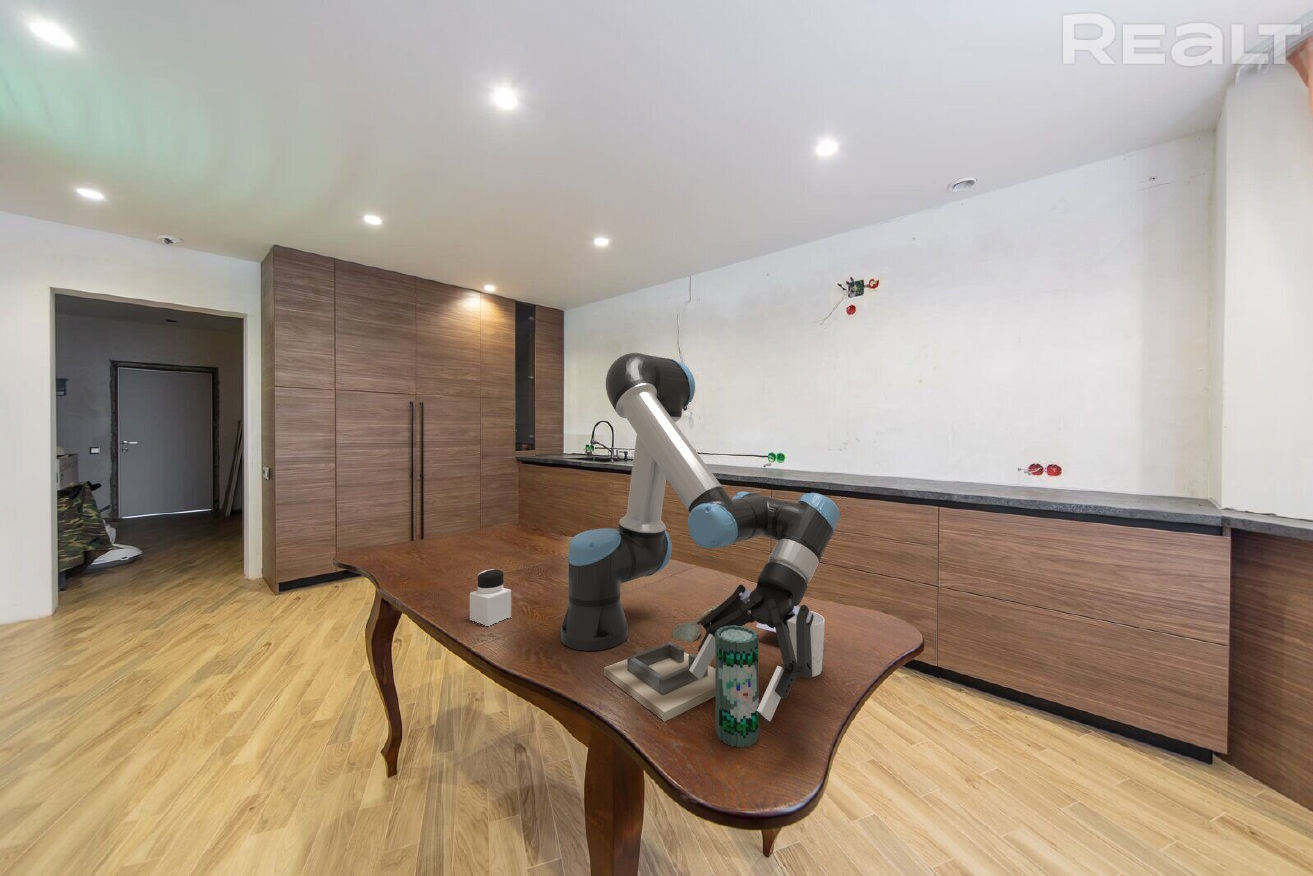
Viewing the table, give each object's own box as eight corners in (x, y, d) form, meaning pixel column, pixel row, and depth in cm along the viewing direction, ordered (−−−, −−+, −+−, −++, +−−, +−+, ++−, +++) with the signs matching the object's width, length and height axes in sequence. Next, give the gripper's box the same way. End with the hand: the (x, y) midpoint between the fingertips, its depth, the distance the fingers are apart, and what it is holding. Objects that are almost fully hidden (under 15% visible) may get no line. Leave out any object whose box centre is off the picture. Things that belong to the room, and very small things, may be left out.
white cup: (820, 683, 81) (819, 628, 82) (777, 672, 86) (776, 619, 86) (828, 665, 88) (828, 614, 88) (788, 655, 92) (788, 606, 92)
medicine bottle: (511, 617, 113) (511, 570, 113) (487, 627, 107) (487, 577, 107) (493, 612, 116) (493, 565, 117) (469, 621, 110) (469, 572, 111)
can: (724, 749, 64) (723, 644, 64) (711, 723, 70) (711, 627, 70) (764, 744, 65) (763, 640, 65) (748, 719, 71) (748, 624, 71)
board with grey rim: (604, 675, 85) (604, 654, 85) (669, 650, 94) (669, 631, 94) (664, 722, 70) (664, 696, 70) (733, 687, 80) (733, 664, 80)
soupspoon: (666, 643, 101) (692, 651, 97) (666, 628, 101) (693, 635, 97) (705, 607, 120) (728, 613, 117) (705, 595, 120) (729, 600, 116)
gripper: (868, 606, 67) (812, 749, 58) (741, 570, 87) (683, 672, 78) (849, 578, 64) (787, 724, 55) (722, 546, 84) (659, 650, 74)
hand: (726, 694), depth 66 cm, fingers open, 13 cm apart
